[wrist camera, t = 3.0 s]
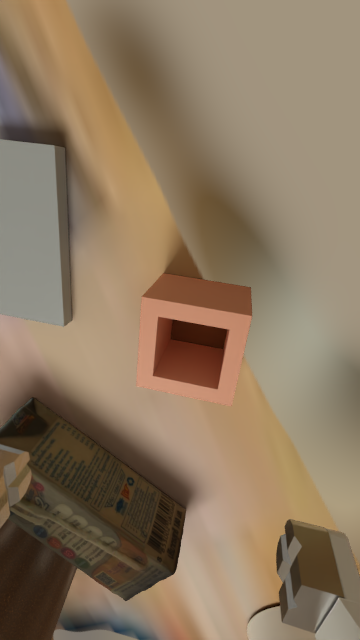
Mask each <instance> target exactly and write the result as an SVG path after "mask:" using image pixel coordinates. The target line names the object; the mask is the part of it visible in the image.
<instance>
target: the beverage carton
mask: <svg viewBox="0 0 360 640" xmlns="http://www.w3.org/2000/svg"><path fill="white" fill-rule="evenodd" d="M0 444H1V445H4V446H8V447H12V448H15V449H19V450H22V451H26V452H29V458H30V460H29V461H28V463H27V465H28V466H29V468H30V469H31V481H30V484H29V486H28V489H27V491H26V493H25V494H24V496H23V497H22V499H21V500H20V501H19V502H17V503H16V504H14V505H12V506H11V507H10V516H9V517H8V519H9V520H10V521H12V522H13V523H15V524H16V525H17V526H19V527H20V528H22V529H23V530H24V531H26V532H27V533H29V534H30V535H31V536H33V537H34V538H36V539H37V540H39V541H40V542H41V543H43V544H44V545H45V546H47V547H48V548H50V549H51V550H52V551H54V552H55V553H57V554H58V555H60V556H61V557H63V558H64V559H66V560H67V561H68V562H70V563H71V564H72V565H74V566H75V567H77V568H78V569H80V570H82V571H83V572H84V573H86V574H87V575H88V576H90V577H91V578H93V579H94V580H95V581H96V582H98V583H99V584H101V585H103V586H104V587H106V588H107V589H109V590H110V591H111V592H112V593H114V594H117V595H119V596H120V597H121V598H123V599H124V600H125V601H127V600H129V599H130V598H132V597H133V596H135V595H136V594H138V593H140V592H142V591H145V590H147V589H148V588H150V587H152V586H153V585H154V584H156V583H157V582H159V581H161V580H164V579H166V578H167V577H169V576H171V575H173V574H174V573H175V571H176V569H177V563H178V557H179V553H180V547H181V539H182V535H183V527H184V522H185V514H186V510H185V509H184V508H182V507H181V506H180V505H179V504H178V503H176V502H175V501H174V500H172V499H171V498H169V497H168V496H167V495H165V494H164V493H163V492H161V491H160V490H158V489H157V488H156V487H154V486H153V485H152V484H151V483H149V482H148V481H146V480H145V479H144V478H142V477H141V476H140V475H138V474H137V473H136V472H134V471H133V470H132V469H130V468H129V467H128V466H126V465H125V464H124V463H122V462H121V461H120V460H118V459H117V458H116V457H114V456H113V455H112V454H110V453H109V452H108V451H106V450H105V449H104V448H102V447H101V446H99V445H98V444H97V443H95V442H94V441H93V440H91V439H90V438H89V437H87V436H86V435H85V434H83V433H82V432H81V431H79V430H78V429H76V428H75V427H74V426H72V425H71V424H70V423H68V422H67V421H66V420H64V419H63V418H61V417H60V416H58V415H57V414H55V413H54V412H52V411H51V410H50V409H48V408H47V407H46V406H44V405H43V404H41V403H40V402H39V401H37V400H36V399H35V398H31V399H30V400H29V401H28V402H27V403H26V404H25V405H24V406H22V407H21V408H19V409H18V410H17V412H16V413H15V414H14V415H12V417H11V418H10V419H9V420H8V421H7V422H6V424H5V425H3V426H2V427H1V428H0Z"/></svg>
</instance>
